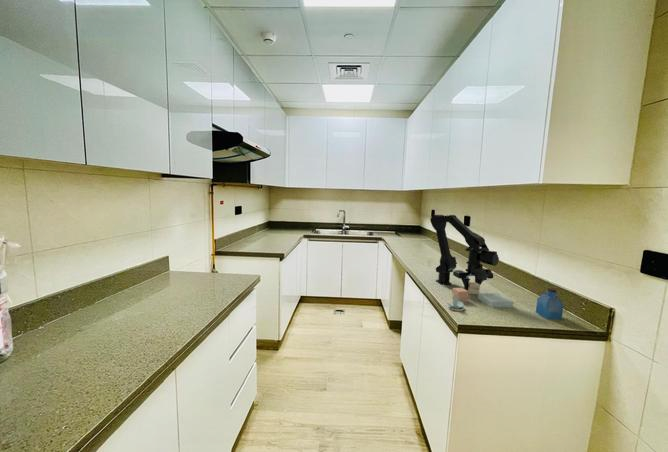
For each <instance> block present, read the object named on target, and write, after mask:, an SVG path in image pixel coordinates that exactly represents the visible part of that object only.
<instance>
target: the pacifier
mask: <svg viewBox="0 0 668 452" xmlns="http://www.w3.org/2000/svg"><path fill="white" fill-rule="evenodd" d="M451 298H452V303H450V302H447V303H446V304H447V305H448V306H450V309H451V310H452V311H456V312H462V311H465V309H466V308H465V307H464V302H460V301H458V299H459V297H458V295H457V294H454V295H453V296H452V295H451ZM457 301H458V302H457Z"/></svg>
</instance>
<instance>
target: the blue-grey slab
mask: <svg viewBox="0 0 668 452" xmlns="http://www.w3.org/2000/svg"><path fill="white" fill-rule="evenodd" d="M477 299H478V300H479V301H481V302H482V303H484V304H486V305H487V306H490V307H491V308H513V306H514V301H513V300H511V299H509V298H508V297H505V296H503V295H501V294H500V293H497V292H496V293H495V292H492V293H491V292H490V293H487V292H486V293H480V292H479V293H478V294H477Z"/></svg>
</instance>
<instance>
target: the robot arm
mask: <svg viewBox="0 0 668 452" xmlns="http://www.w3.org/2000/svg"><path fill="white" fill-rule="evenodd" d="M430 223H431V226H432V228H433V229H434V231H435V233H436V237H437V241H438V242H437V243H438V245H439V246H438V247H439V251H440V257H439V258H440V259H439V265H438V266H437V267H435V272H436V273H438V276H437V277H438V278H437V279H435V282H437V283H438V284H440V285H452V282H451V281H450V280H451V273H452V276H454V277H456V278H458V279H460V280H461V281H462V284H463V288H464V287H465V289H466V290H467V291H468V285H469V281H471V278H470V277H474V282H476V283H478V284H480V286H481V285H482V284H483V282H484V281H487V280H488V279H490V280H491V279H494V273H493V272H492V269H490V268H484V267H483V264H486V265H489V266H493V267H496V266H497V265H498V264H499V261H500V257H499V255H498V251H494V250H490V249H489V247H488V246H487V244H486V240H485V237H483V236H482V235H480V234H478V233H476V232H473V231H472V230H471V229H470V228H469V227H468V226H466V224H464V223H463V222H462V221H461V220H460V219H459V218H458V217H457V216H456V215H455V214H447V215H443V214H433V215H431V217H430ZM447 223H449V224H450V225H451V226H452V227H453V228H454V229H455V230H456V231H458V233H459V234H460V235H461V236H463V238H464V241H465V242H466V244H467V245H468V246H467V248H465V249H464V251H466V252H468V258H467V259H468V261H466V263H465V264H467V268H466V269H465V271H463V270H461V269H456V268H457V264H458V262H457V258H456V256H452V254H451V251H450V245H449V242H448V236H447V233H446V226H447Z"/></svg>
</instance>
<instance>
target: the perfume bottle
mask: <svg viewBox="0 0 668 452" xmlns="http://www.w3.org/2000/svg"><path fill="white" fill-rule="evenodd" d="M546 288H547V289H546V291H545V293H542V294H541V295H540V296H539V297H537V299H536V306H535V308H536V309H535V313H536V314H538V315H539V316H541V317H542V318H544V319H547V320H548V319H549V320H559V321H561V320H562V319H563V313H564V307H565V306H564V304H563V302H562V300H561V299H560V297H558V296H557V295H558V292H557V288H555V287H550V286H549V287H548V286H547V287H546Z"/></svg>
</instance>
